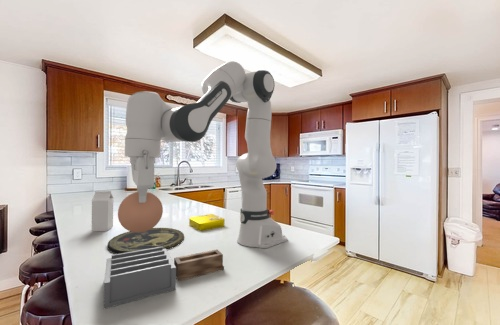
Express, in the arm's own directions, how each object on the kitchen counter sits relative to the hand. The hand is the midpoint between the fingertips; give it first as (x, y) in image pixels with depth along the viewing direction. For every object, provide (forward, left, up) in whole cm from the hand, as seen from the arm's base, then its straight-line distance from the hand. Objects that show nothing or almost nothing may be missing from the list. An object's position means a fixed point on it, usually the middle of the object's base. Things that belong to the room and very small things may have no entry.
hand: (141, 201), depth 62 cm
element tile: (-36, -48, -24) cm, 65 cm away
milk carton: (+12, -66, -24) cm, 71 cm away
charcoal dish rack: (0, -2, -24) cm, 24 cm away
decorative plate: (-6, -38, -24) cm, 45 cm away
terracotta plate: (0, 0, -3) cm, 3 cm away
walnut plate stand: (-17, -2, -24) cm, 29 cm away
